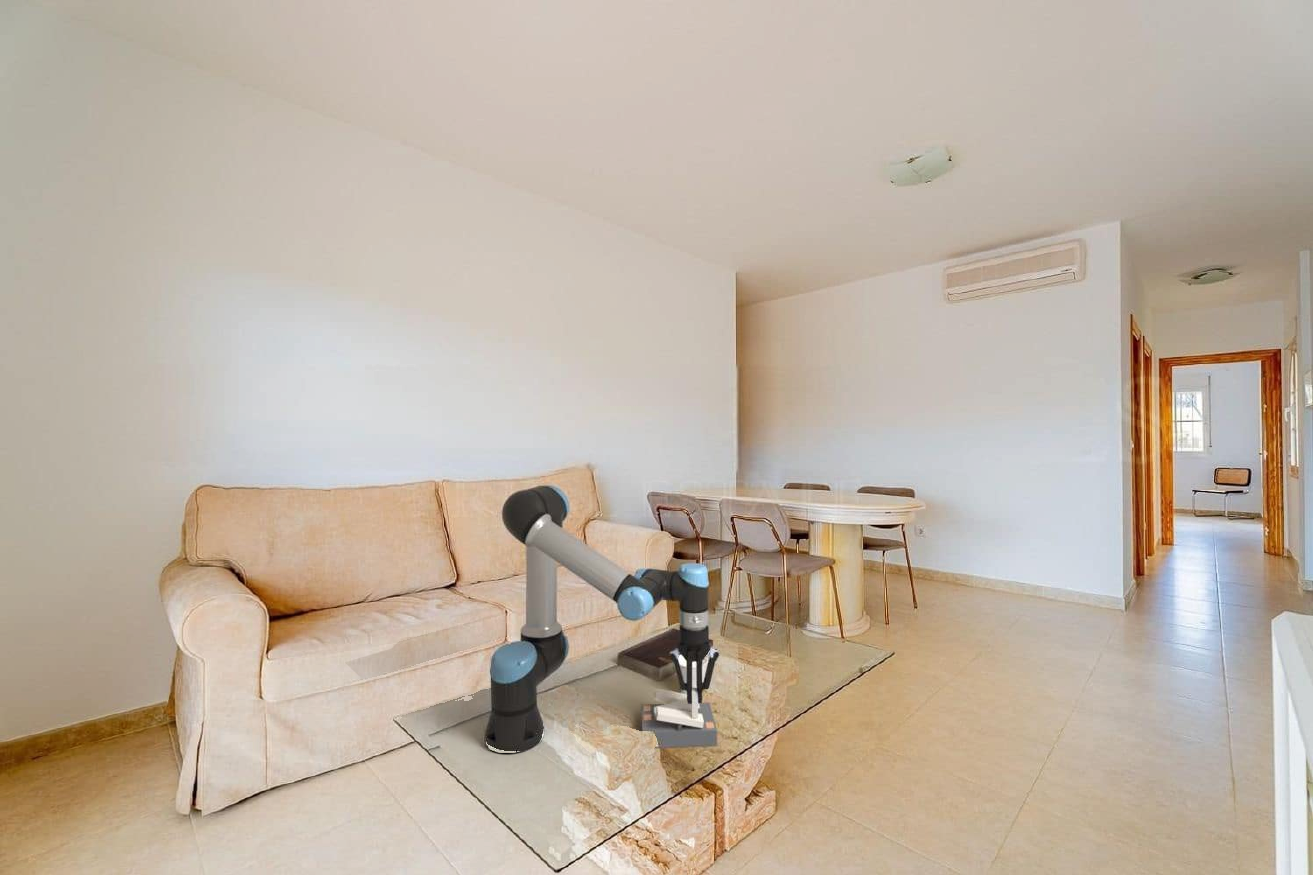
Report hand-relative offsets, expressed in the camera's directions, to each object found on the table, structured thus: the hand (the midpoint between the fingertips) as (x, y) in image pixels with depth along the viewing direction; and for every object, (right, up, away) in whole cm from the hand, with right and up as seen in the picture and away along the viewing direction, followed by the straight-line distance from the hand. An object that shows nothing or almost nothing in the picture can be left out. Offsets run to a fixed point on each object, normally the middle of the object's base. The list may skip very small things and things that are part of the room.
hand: (694, 714), depth 144 cm
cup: (+1, -6, +24) cm, 25 cm away
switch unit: (-4, -7, +5) cm, 9 cm away
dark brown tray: (-6, -6, +50) cm, 50 cm away
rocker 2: (-4, -1, 0) cm, 4 cm away
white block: (-4, -1, +5) cm, 6 cm away
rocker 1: (-4, -1, +9) cm, 10 cm away
